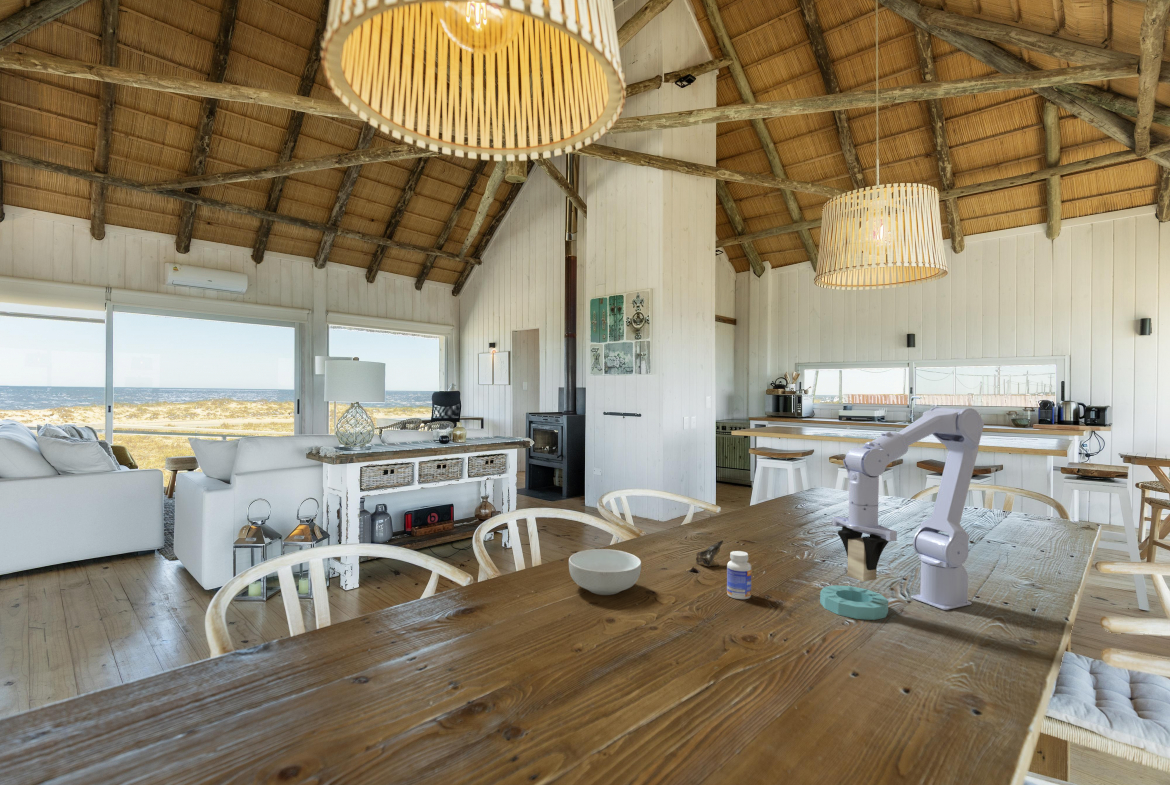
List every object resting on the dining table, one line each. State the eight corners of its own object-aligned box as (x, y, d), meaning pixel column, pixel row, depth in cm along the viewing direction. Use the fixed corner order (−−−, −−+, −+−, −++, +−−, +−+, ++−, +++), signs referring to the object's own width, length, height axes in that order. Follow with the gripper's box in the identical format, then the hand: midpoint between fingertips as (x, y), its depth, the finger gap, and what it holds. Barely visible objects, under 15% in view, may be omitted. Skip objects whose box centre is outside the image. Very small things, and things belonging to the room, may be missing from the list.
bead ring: (849, 593, 131) (850, 582, 131) (901, 614, 119) (901, 602, 119) (808, 601, 126) (808, 589, 126) (857, 623, 114) (857, 611, 114)
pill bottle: (752, 601, 125) (752, 557, 125) (727, 598, 126) (728, 555, 126) (749, 592, 130) (750, 550, 130) (726, 590, 132) (726, 549, 132)
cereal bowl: (556, 595, 126) (556, 564, 126) (584, 573, 142) (584, 545, 142) (628, 607, 120) (628, 574, 120) (648, 583, 136) (649, 554, 136)
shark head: (716, 564, 155) (716, 539, 156) (730, 567, 149) (730, 541, 150) (691, 564, 152) (691, 539, 153) (704, 567, 146) (704, 541, 147)
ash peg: (860, 573, 124) (861, 537, 124) (876, 579, 120) (877, 542, 120) (847, 575, 122) (848, 539, 122) (863, 581, 118) (864, 543, 118)
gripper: (823, 498, 126) (821, 558, 126) (880, 511, 113) (879, 579, 113) (845, 496, 129) (844, 555, 129) (904, 509, 116) (902, 574, 116)
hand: (862, 566), depth 121 cm, fingers closed on ash peg, 4 cm apart
